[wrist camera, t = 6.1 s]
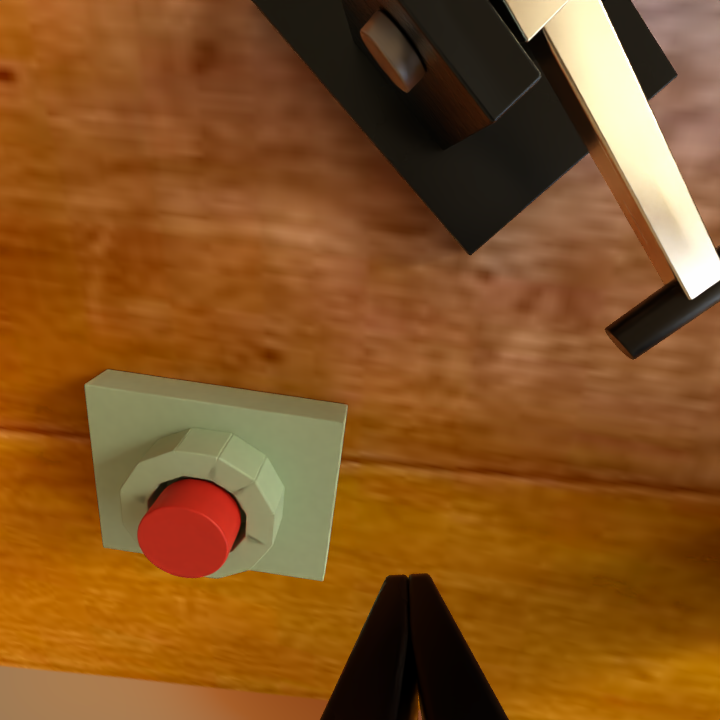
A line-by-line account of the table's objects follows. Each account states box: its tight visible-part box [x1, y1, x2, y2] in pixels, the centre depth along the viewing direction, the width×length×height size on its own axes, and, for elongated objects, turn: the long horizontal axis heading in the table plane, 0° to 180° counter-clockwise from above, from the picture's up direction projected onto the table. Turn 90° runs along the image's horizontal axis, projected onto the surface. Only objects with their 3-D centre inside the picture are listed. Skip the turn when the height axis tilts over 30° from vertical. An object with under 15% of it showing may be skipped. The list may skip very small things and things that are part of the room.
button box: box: [84, 369, 348, 581], centre depth 20 cm, size 11×9×4 cm
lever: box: [489, 0, 720, 360], centre depth 10 cm, size 12×5×2 cm, turn 44°
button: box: [137, 479, 241, 578], centre depth 18 cm, size 4×4×2 cm
